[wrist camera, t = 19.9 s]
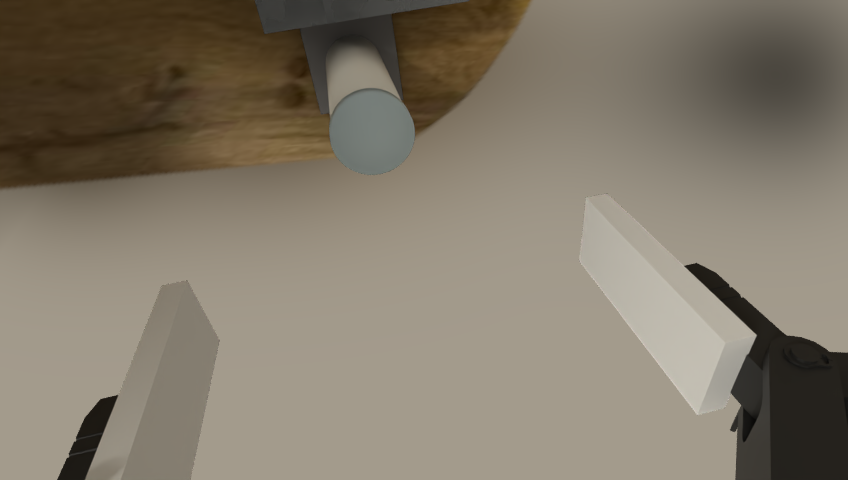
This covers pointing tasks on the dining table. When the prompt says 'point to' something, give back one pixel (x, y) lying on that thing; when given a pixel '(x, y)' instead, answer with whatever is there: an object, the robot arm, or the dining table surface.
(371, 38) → the mat
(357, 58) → the cartridge
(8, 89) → the dining table surface
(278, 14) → the housing
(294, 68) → the dining table surface
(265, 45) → the dining table surface
